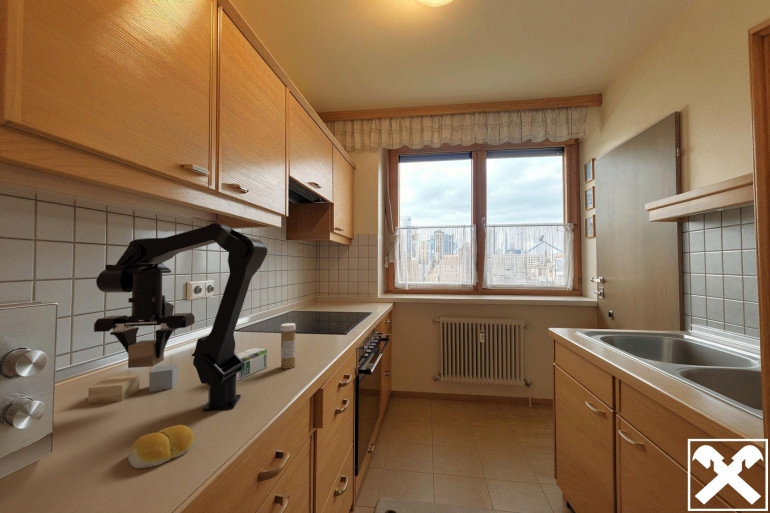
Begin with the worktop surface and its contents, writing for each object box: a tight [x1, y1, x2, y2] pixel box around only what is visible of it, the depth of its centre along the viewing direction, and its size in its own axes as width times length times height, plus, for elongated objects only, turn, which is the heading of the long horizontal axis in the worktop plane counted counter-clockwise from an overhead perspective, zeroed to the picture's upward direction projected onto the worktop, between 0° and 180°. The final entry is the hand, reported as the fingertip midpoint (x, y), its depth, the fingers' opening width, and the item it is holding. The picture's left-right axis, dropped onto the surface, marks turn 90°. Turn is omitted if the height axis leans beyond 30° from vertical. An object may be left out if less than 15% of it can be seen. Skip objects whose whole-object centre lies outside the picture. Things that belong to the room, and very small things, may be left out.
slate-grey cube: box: [148, 363, 178, 393], centre depth 82 cm, size 5×5×5 cm
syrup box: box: [221, 347, 268, 382], centre depth 91 cm, size 6×6×14 cm
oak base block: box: [87, 374, 141, 405], centre depth 77 cm, size 7×7×4 cm
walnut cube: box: [127, 339, 165, 369], centre depth 73 cm, size 5×5×5 cm
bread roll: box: [127, 424, 195, 470], centre depth 53 cm, size 8×9×4 cm
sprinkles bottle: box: [280, 322, 296, 369], centre depth 97 cm, size 5×5×13 cm
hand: (146, 358), depth 73 cm, fingers closed on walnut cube, 5 cm apart
